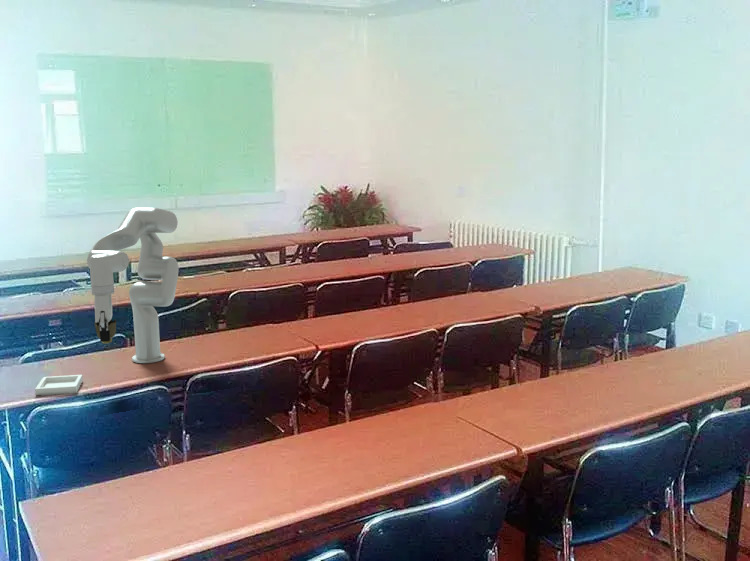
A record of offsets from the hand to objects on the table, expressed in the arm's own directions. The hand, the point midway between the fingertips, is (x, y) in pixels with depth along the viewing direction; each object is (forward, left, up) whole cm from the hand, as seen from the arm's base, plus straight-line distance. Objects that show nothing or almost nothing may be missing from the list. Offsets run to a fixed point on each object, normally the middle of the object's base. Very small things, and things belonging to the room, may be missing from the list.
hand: (106, 338), depth 270 cm
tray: (0, -17, -18) cm, 24 cm away
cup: (0, 0, -2) cm, 2 cm away
